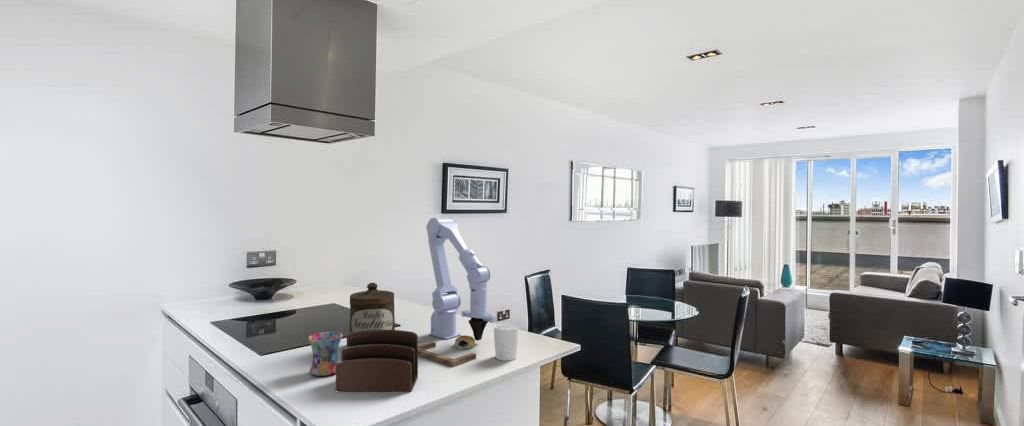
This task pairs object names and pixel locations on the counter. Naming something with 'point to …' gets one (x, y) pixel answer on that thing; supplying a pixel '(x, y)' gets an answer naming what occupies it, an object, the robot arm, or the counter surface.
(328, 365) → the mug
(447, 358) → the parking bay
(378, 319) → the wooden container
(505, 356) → the white cup
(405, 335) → the letter holder
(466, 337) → the pastry
